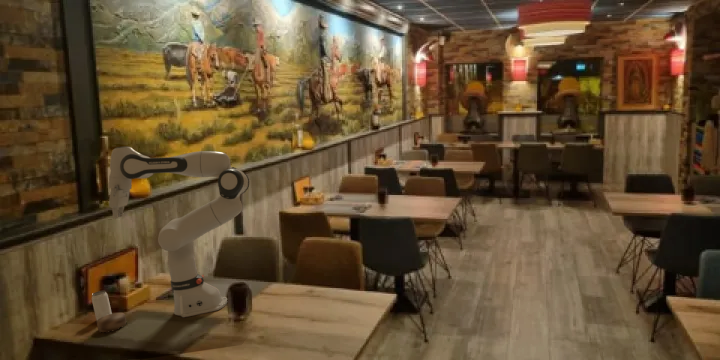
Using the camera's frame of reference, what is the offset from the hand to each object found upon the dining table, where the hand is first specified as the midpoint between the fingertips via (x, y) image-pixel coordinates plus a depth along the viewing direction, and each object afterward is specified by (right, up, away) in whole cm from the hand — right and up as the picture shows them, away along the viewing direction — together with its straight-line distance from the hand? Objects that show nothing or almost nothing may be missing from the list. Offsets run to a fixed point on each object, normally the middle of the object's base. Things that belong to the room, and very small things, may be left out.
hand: (117, 217), depth 242 cm
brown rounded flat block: (-1, -46, -3) cm, 46 cm away
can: (-10, -45, +9) cm, 47 cm away
